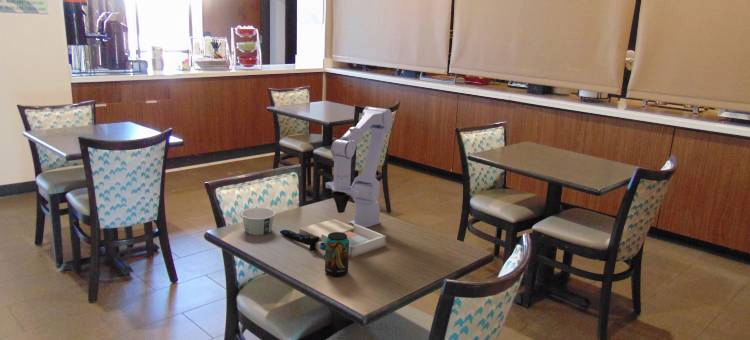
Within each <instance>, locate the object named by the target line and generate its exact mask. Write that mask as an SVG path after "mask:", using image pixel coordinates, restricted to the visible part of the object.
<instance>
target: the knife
mask: <svg viewBox="0 0 750 340" xmlns="http://www.w3.org/2000/svg"><path fill="white" fill-rule="evenodd" d="M279 233H280V235H282V236H284V237H286V238H287V239H290V240H291V241H295V242H297V243H300V244H304V245H307V246H309V251H315V250H321V251H325V247H326V242H319V237H318V236H317V237H314V238H312V239H311V238H310V235H301V234H299V232H295V231H293V230H289V229H282V230H280V231H279Z"/></svg>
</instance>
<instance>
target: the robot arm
mask: <svg viewBox="0 0 750 340" xmlns="http://www.w3.org/2000/svg"><path fill="white" fill-rule="evenodd" d="M392 123H393V113H392V111H391V109H390V108H381V107H374V106H370V105H369V106H368V105H367V106H365V108H364V109H363V110H362V115H361V118H360V119H359V121H358V122H357V124H356V126H352V127H351V126H350V127H349V129H348V130H347V131H346V132H345V133H344V134H343V135H342V136H341V137H340V138H339V139H336V140H334V141H333V142H332V144H331V148H330V153H331V156H332V161H333V162H334V163H333V182H332V181H328V182H325V188H326V189H330V190H331V191H333V192H331V197H332V199H333V200H334V203H335V206H336V210H337V213H339V214H342V213H345V212H346V208H347V205H348V202H349V200H350V198H352V201H354V211H353V212H354V214H353V219H352V220H349V221H348V223H349V224H351V225H353V226H354V224H357V225H360V226H362V227H365V228H367V229H368V228H370V227H372V226H375V225H378V224H381V223H382V222H381V221H380V213H381V212H380V211H381V208H380V207H381V206H380V203H379V201H378V199H379V197H380V188H381V183H380V181H379V180H378V179H377V178H376V173H377V170H378V166H379V164H380V163H379V162H380V159H381V155H382V150H383V146H384V144H385V138H386V136H387V135H386V134H388V133H389V132H390V130H391V126H392ZM367 130H368V131H369V132H370V133H371V136H370V140H369V144H368V148H367V151H366V152H367V153H366V156H365V160H364V163H363V168H362V171H361V173H360V174H359V175H357V176H356V177H354V179H353V182H352V184H351V173H352V171H351V170H352V168H351V166H352V157H353V156H354V155H355V152H356V149H357V146H358V145H359V143H361V141H362V140H363V138H364V133H365V132H366V131H367Z"/></svg>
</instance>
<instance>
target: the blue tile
mask: <svg viewBox="0 0 750 340" xmlns="http://www.w3.org/2000/svg"><path fill="white" fill-rule="evenodd" d="M365 241H367V239H366V238H364V237H361V236H359V235H357V236H354V237H351V238H349V244H350V245H352V246H354V245H357V244H359V243H362V242H365Z"/></svg>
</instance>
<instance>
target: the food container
mask: <svg viewBox="0 0 750 340" xmlns="http://www.w3.org/2000/svg"><path fill="white" fill-rule="evenodd" d="M275 215H276V212H275V210H273V209H271V208H269V207H268V208H267V207H251V208H248V209H245V210H244V209H243V210H242V211H241V213H240V216H241V217H242V222H243V227H244V231H245V233H246V232H247V234H248V233H249V235H252V234H253V235H252V236H254V235H255V236H261V235H262V236H263V235H267V234H270V233H271V232H272V231H273V230H272V229H273V224H274V223H273V222H274V218H275Z"/></svg>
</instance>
